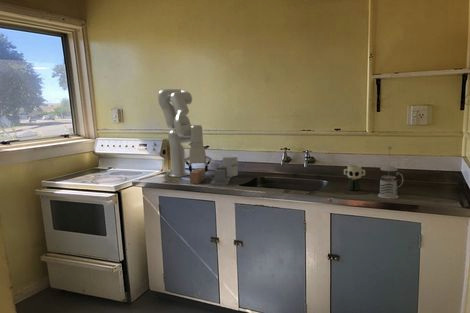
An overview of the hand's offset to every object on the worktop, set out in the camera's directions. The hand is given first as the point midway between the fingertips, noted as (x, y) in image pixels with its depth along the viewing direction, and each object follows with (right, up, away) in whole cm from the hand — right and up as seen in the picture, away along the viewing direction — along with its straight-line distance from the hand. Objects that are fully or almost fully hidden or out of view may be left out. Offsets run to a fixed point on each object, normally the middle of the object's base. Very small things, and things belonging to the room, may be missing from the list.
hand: (198, 172), depth 238 cm
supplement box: (+20, -3, +16) cm, 26 cm away
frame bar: (0, -6, +1) cm, 6 cm away
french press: (+100, -10, -50) cm, 112 cm away
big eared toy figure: (+87, -8, -34) cm, 94 cm away
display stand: (+14, -6, -3) cm, 16 cm away
